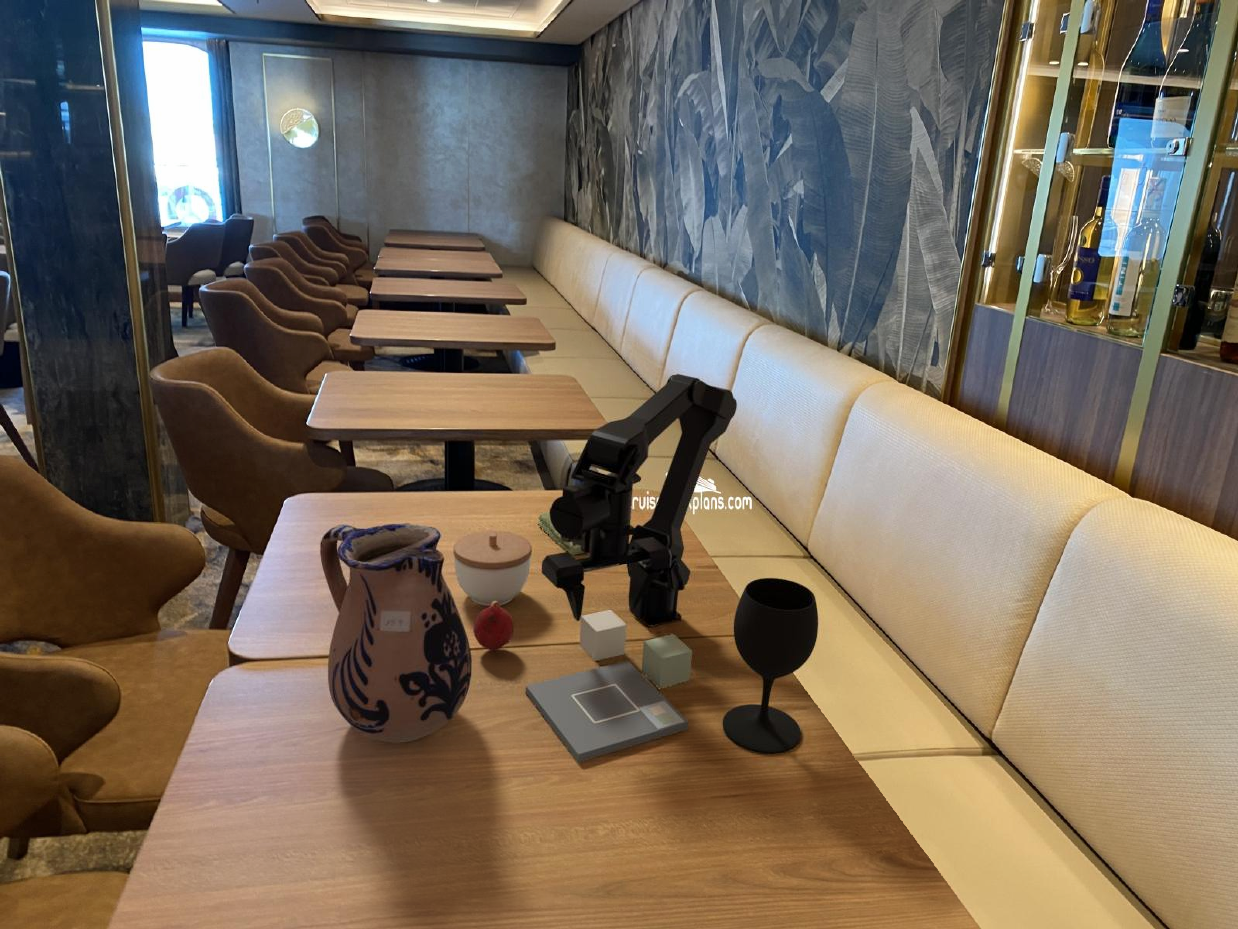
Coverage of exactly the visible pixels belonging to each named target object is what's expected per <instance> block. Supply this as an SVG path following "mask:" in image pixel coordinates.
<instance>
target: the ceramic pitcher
mask: <svg viewBox="0 0 1238 929" xmlns="http://www.w3.org/2000/svg"><path fill="white" fill-rule="evenodd" d="M441 536H442V535H441V533H440V531H439V529H437V528H436V527H433V526H426V525H419V524H411V523H407V522H406V523H389V524H388V523H387V524H384V525H376V526H372V527H368V528H358V527H354V526H353V525H350V524H349V525H348V524H338V525H336V526H333V527H332V528H330V529H329V530H328V531H327V532H325V534H324V535H323V536H322V538H321V541H320V543H319V544H320V546H319V547H320V549H319V551H320V552H319V555H320V561H321V566H322V570H323V573H324V577H325V580H326V583H327V586H328V589H329V592H330V595H331V598H332V600H333V602H334V605H335V607H336V609H337V611H338V615H337V618H336V622H335V625H334V628H333V633H332V638H331V641H330V645H329V651H328V661H327V662H328V663H327V685H328V690H329V694H330V698H331V701H332V703H333V705H334V707H336V709H337V711H338V713H339V714H340V715H341V717H342V718H343V719H344V720H345V721H346V722H347V723H348V724H349V725H350V726H351V727H352V728H353V729H354V730H355V731H356V732H358V733H360V734H362V735H364V736H365V737H367V738H370V739H372V740H375V741H379V742H386V743H402V742H403V743H404V742H411V741H416V740H420V739H421V738H425V737H427V736H429V735H431V734H433V733H435V732H436V731H438V730H439V729H441V728H442V727H443V726H445V725H446V724H448V723H449V722H450V721H451V720H452V719H453V718H454V717H455V716H456V715H457V713H458V712H459V710H460V709H461V707H462V706H463V704H464V701H465V700H466V697H467V695H468V693H469V689H470V684H471V679H472V672H473V671H472V668H473V667H472V666H473V664H472V663H473V661H472V660H473V659H472V652H471V648H470V647H471V646H470V642H469V639H468V638H469V637H468V635H467V632H466V629H465V626H464V623H463V621H462V618H461V614H460V613H459V610H458V608H457V605H456V602H455V599H454V597H453V593H452V592H451V589H450V588H449V587H448V586H449V585H448V584H447V582H446V581H445V578H444V575H443V572H442V571H443V567H444V562H445V558H444V555H443V553H442V552H441V551H440V550H438V549H437V547H438V543H439V541H440V539H441ZM339 541H340V544H339V545H338V542H339ZM341 562H342V563H344V564H345V566H346V567H348V568H349V579H348V583H347V580H346V577H345V576H344V571H343V569H342V566H341Z"/></svg>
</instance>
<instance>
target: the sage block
mask: <svg viewBox="0 0 1238 929" xmlns="http://www.w3.org/2000/svg"><path fill="white" fill-rule="evenodd" d="M642 647H643V648H642V657H641V658H642V659H641V660H642V661H641V672H642V671H643V672H644V673H645V674H646V675H647V676H646V675H645V674H644V673H643V672H642V673H643V674H644V675H645V676H646V677H647V678H648V679H649V678H650V679H649V680H650V682H652V681H653V682H654V683H655V684H656V685H657V686H658V687H657V686H656V685H655V684H654V683H653V682H652V683H653V684H654V685H655V686H656V687H657V688H658V689H659V688H662V689H664V688H663V687H665V688H667V687H666V686H669V687H671V686H670V685H673V686H675V685H674V684H676V685H679V684H678V683H680V684H682V682H684V683H686V682H685V681H688V682H690V677H691V676H690V675H691V668H692V659H693V658H692V656H693V650H692V649H691V648H689V646H687V645H686V644H685V643H684V642H683V641H682V640H680V639H679V637H677V636H676V635H675V634H668V635H665V636H660V637H656V638H651V639H647V640H643V646H642Z"/></svg>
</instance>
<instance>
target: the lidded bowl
mask: <svg viewBox="0 0 1238 929" xmlns="http://www.w3.org/2000/svg"><path fill="white" fill-rule="evenodd" d="M532 548H533V547H532V544H531V542H530V541H529V540H528V539H527V538H526V537H524V536H522V535H519V534H517V533H513V532H509V531H502V530H483V531H476V532H472V533H468V534H466V535H463V536H462V537H460V538H459V539H457V540H456V542H454V544H453V556H454V559H453V560H454V570H455V576H456V580H457V582H458V584H459V587H460V588H461V589H462V590H461V591H463V592H464V593H465V595H467V596H468V597H470V598H469V599H470V600H471V601H472V602H474V603H475V604H477V605H481V606H486V607H489V606H490V605H491V603H492V602H493V601H498V602H499V603H500V604H499V606H503V605H506V604H508V603H510V602H511V601H512V600H513V599H514V597H515V596H517V595H518V594H519V593H520V592H521V591H522V590H523V588H524V586H525V585H526V583H527V581H528V578H529V574H530V568H531V556H532V553H533V552H532V550H533V549H532Z"/></svg>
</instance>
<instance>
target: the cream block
mask: <svg viewBox="0 0 1238 929" xmlns="http://www.w3.org/2000/svg"><path fill="white" fill-rule="evenodd" d="M627 628H628V627H627V624H626V623H625V622H624V621H623V620H622V619H621V618H620V617H619V616H618V615H617V614H616V613H615V612H614V611H612V610H611V609H608V610H601V611H599V612H594V613H588V614H584V615H581V618H580V630H579V646H580V647H581V648H582V649H583V650H584V651H585V652H586V653H587V654H588V655H589V657H591V659H592V660H593V661H594V662H598V661H602V660H605V658H606V659H609V658H613V657H617V656H622V655H625V650H626V641H627V639H626V638H627Z"/></svg>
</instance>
